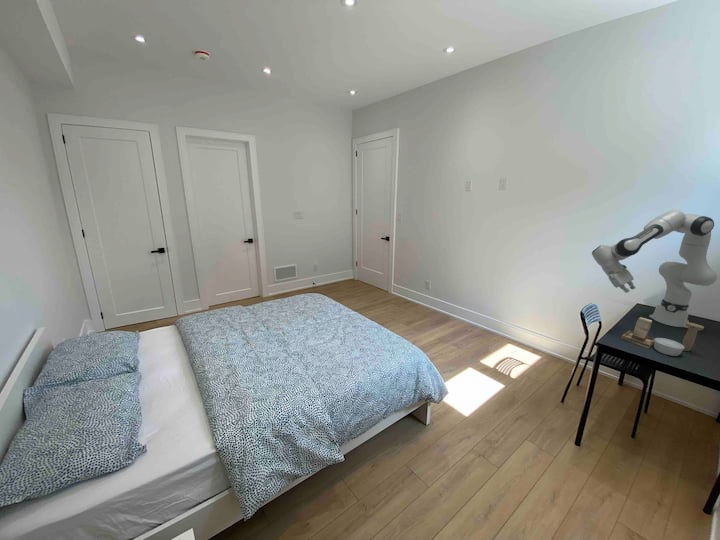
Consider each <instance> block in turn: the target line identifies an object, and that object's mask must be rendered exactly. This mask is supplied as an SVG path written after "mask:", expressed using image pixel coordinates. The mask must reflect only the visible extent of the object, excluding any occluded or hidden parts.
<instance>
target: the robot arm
mask: <svg viewBox="0 0 720 540" xmlns="http://www.w3.org/2000/svg"><path fill="white" fill-rule="evenodd" d="M714 228H715V221H714V219H713V218H712V217H709V216H705V215H699V214H692V213H684V212H683V211H681V210H677V209H671V210H669V211H666V212H664V213H662V214H660V215H658V216H657V217H655V218H653V219H652V220H650V221H649V222H648V223H647V224H646V225H645V226H643V230H642V231H640V232H639V233H637V234H636V235H634V236H631V237H628V238H623V239H621V240H619V241H618V242H617V243H616V244H610V245H608V244H607V245H606V244H605V245H604V244H601V245H598V246H597V247H596V248H595V249H594V250H592V252H591V256H592V257H593V259H594V260H595V262H596V263H597V264H598V265H599V266H600V267H601V269H602V270H603V272H604V273H605V274H606V276H607V277H608V279H609V281H610V283H611V284H612V286H613V287H614V288H616V289H617V288H619V289H620V290H622V291H623V292H624V293H625V294H626V293H630V289H631V290H632V291H633V290H635V289H636V286H635V285H634V283H633V281H634V276H633V275H632V273H631V272H630V270H628V269H627V268H628V267H627V266H626V265H625V264H622V263H621V262H620V261H623V260H626V259H628V258H629V257H632V256H634V255H636V254H637V253H638V252H640V250H641V248H642V247H643V246H644V245H646V244H647V243H648V242H650V241H651V240H654V239H655V240H656V239H657V240H658V239H660V238H663V237H665V236H667V235H669V234H671V233H672V232H676V233H680V234H683V237H682V240H681V243H680V247H679V251H678V254H679V256H680V257H681V258H682V259H683V260H684V261H686V263H684V262H678V261H665V262H663V263H662V264H660V265H659V267H658V273H659V275H661V277H662V278H663V279H664V282H665V285H666V290H665V294H664V296H663V299H662V300H661V302H660V305H657V306H656V308H655V310H654V312H653V313H652V314H649V316H648V317H649V318H651V319H653V320H654V321H656V322H658V323H660V324H663V325H667V326H671V327H676V328H686V329H688V328H689V327H687V326H686V322H689V319H688V318H689V313H688V309H689V307H690V306H689V303H690V300H691V298H692V297H693V294H692V291H691V290H690V289H689V288H688V287H687V286H686V285H685V283H687V284H691V285H696V286H702V287H704V286H705V287H709V286H711V285H713V284H715V283H716V281H717V279H718V274H717V272H716V271H715V270H714V269H713V268H711V266H710V265H709V263H708V260H707V253H708V249H709V246H710V242H711V237H712V230H713V229H714ZM626 284H627V286H629V288H628V287H626Z"/></svg>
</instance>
